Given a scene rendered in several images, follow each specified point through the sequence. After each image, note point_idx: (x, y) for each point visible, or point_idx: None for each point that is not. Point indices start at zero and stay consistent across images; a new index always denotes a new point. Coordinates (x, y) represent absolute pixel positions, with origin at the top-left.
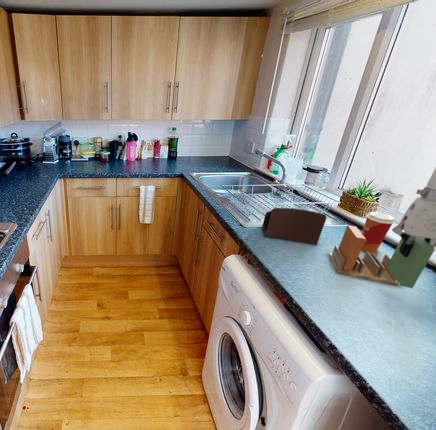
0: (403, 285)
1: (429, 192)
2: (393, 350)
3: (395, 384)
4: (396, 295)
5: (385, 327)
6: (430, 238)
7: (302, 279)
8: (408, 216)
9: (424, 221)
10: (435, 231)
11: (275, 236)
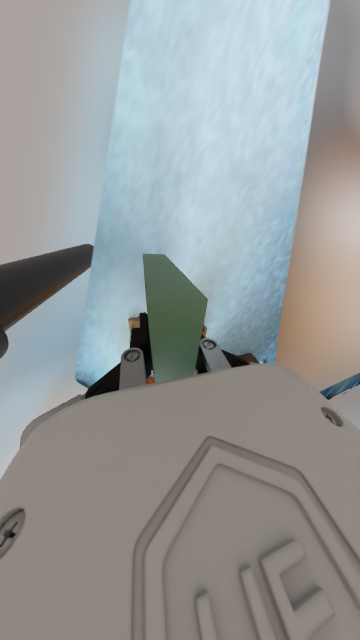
0: (161, 254)
1: None
2: (208, 27)
3: None
4: (137, 290)
5: (189, 156)
6: (168, 380)
7: (256, 273)
8: None
9: None
10: (185, 461)
11: (242, 357)
